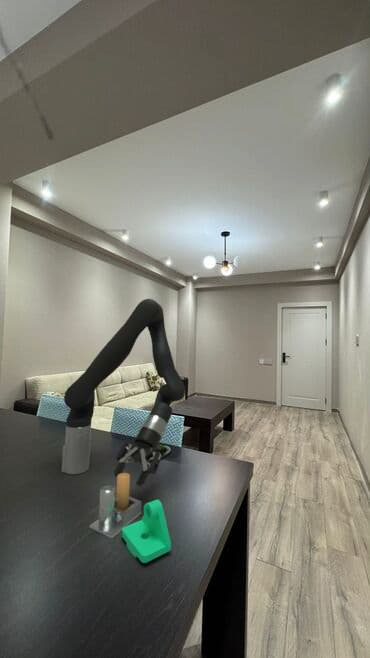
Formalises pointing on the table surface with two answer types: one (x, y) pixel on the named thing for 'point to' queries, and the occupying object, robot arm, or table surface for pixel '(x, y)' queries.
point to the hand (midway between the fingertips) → (127, 481)
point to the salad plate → (161, 451)
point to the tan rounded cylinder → (122, 491)
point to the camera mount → (148, 534)
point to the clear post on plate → (114, 513)
